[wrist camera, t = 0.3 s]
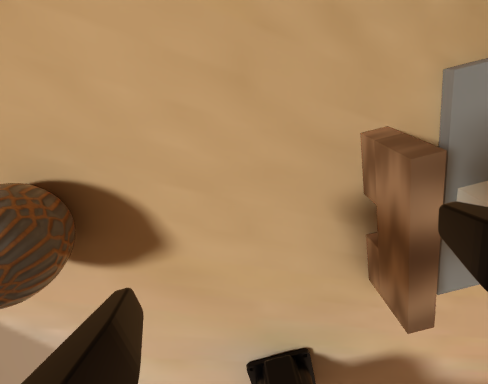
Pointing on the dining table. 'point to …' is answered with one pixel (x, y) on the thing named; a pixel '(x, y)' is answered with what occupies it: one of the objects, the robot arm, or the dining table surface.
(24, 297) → the vase
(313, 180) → the dining table surface
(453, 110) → the slotted base
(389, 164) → the brown flat block
